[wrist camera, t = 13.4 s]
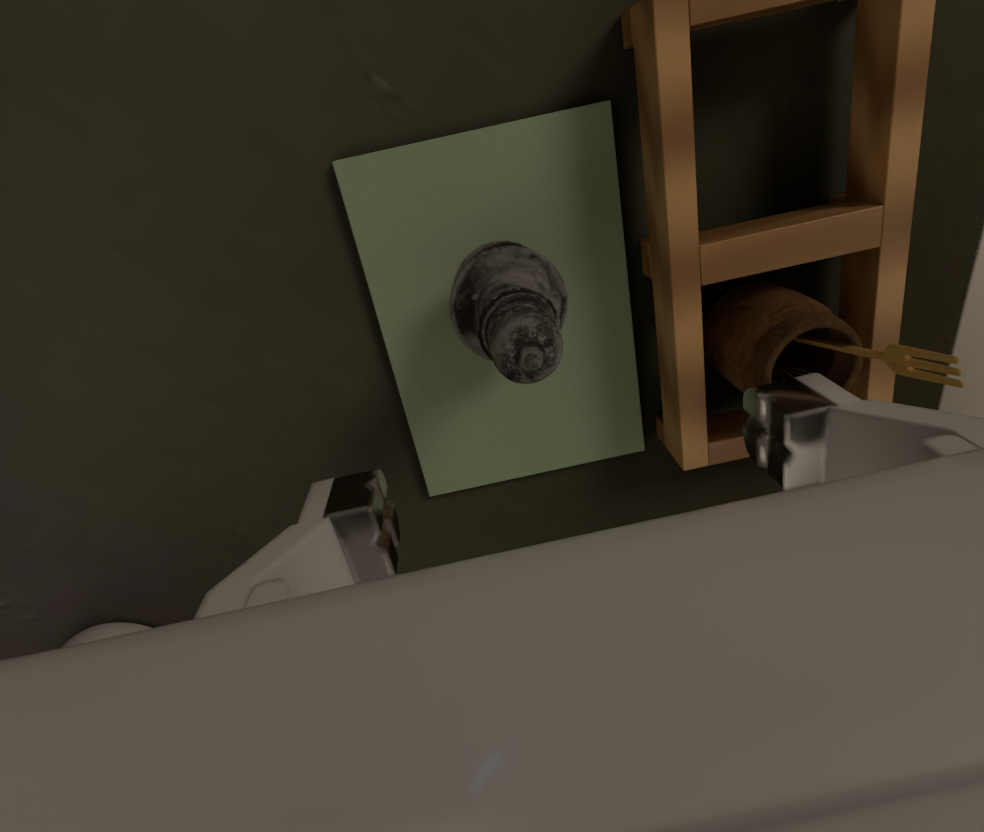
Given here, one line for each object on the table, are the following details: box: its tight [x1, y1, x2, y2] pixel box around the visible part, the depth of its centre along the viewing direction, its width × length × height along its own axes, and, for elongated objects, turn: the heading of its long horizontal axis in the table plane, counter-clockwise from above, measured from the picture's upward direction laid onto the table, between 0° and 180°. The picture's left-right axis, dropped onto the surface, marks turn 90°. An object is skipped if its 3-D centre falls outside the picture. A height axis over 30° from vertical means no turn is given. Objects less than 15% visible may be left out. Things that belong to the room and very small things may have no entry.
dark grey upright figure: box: [449, 241, 568, 384], centre depth 27 cm, size 6×6×12 cm
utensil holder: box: [703, 282, 965, 393], centre depth 30 cm, size 6×6×12 cm
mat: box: [332, 100, 645, 497], centre depth 33 cm, size 20×14×1 cm
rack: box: [621, 0, 936, 471], centre depth 31 cm, size 23×12×4 cm, turn 11°
